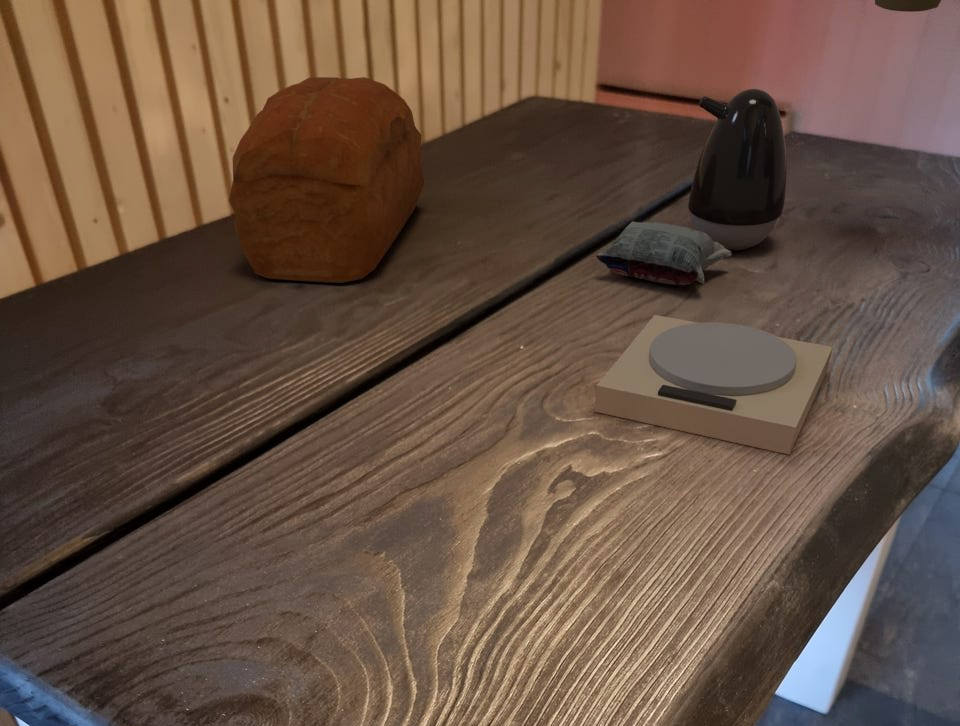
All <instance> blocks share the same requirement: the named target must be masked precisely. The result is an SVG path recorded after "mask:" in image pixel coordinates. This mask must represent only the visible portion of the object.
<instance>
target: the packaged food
mask: <svg viewBox="0 0 960 726" xmlns="http://www.w3.org/2000/svg"><path fill="white" fill-rule="evenodd" d="M732 254H733V253H732V251H731V250H727V249H725V248H724V246H722V245H721V244H719V243H718V242H713V241H712V239H711V238H710V237H709V236H708V235H707V234H706V233H703V232H700V231H698V230H695V229H694V228H692V227H689V226H688V227H687V226H682V225H677V224H671V223H665V222H662V221H661V222H660V221H643V222H638V221H631V222H630V223H629V224H628V225H627V226H626V227H625V228H624V229H623V231H622V232H621V233H620V234H619V235H618V236H617V237H616V239H615V240H614V241H613V242H612V243H611V244H610V245H609V246H608V247H606V248H604V249H603V250H602V251H600V252H599V253H597V254H596V255H595V257H596V258H597V260H598V261H599V262H601V263H602V264H604V265H605V266H606V267H607V268H608V269H609V271H611V272H612V273H614V274H616V275H620V276H625V277H629V278H630V277H631V278H634V279H640V280H646V281H649V282H655V283H659V284H667V285H673V286H686V285H690V284H693V282H695V281H698V282H699V283H701V284H703V285H704V284H705V274H704V272H703V271H704V270H706V269H707V268H708V267H710V266H712V265H714V264H715V263H717V262H718V261H721V260H722V259H723V258H728V257H731V256H733V255H732Z"/></svg>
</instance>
